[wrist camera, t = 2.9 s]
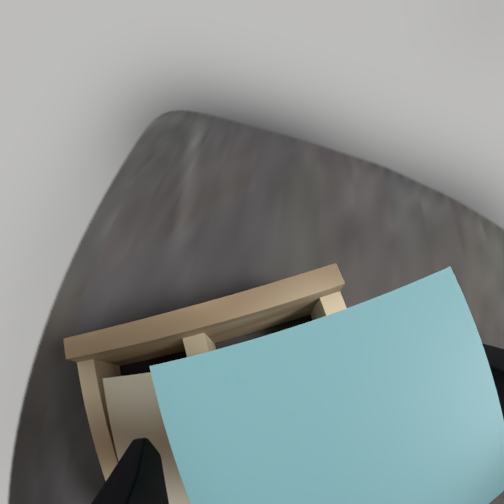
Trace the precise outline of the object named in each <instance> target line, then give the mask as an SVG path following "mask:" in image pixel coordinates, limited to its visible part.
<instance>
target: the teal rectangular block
mask: <svg viewBox="0 0 504 504" xmlns="http://www.w3.org/2000/svg"><path fill="white" fill-rule="evenodd" d="M149 367H150V372H151V376H152V380H153V384H154V388H155V392H156V396H157V400H158V404H159V408H160V412H161V415H162V419H163V422H164V426H165V429H166V433H167V436H168V439H169V443H170V446H171V449H172V452H173V455H174V458H175V461H176V464H177V467H178V470H179V473H180V476H181V479H182V482H183V485H184V487H185V490H186V493H187V495H188V498H189V501H190V503H191V504H489V503H490V502H491V501H492V500H494V499H495V498H496V497H497V496H498V495H499V494H501V493H502V492H503V491H504V419H503V415H502V410H501V406H500V402H499V398H498V394H497V390H496V387H495V383H494V379H493V376H492V373H491V369H490V366H489V363H488V360H487V356H486V353H485V350H484V347H483V345H482V342H481V339H480V336H479V333H478V331H477V328H476V325H475V323H474V320H473V317H472V315H471V312H470V310H469V307H468V305H467V303H466V300H465V298H464V295H463V293H462V291H461V289H460V286H459V284H458V282H457V280H456V277H455V275H454V273H453V271H452V269H451V267H448V268H446V269H443V270H441V271H439V272H437V273H434V274H432V275H430V276H427V277H425V278H423V279H420V280H418V281H416V282H413V283H411V284H409V285H406V286H404V287H401V288H399V289H396V290H394V291H391V292H389V293H386V294H384V295H381V296H379V297H376V298H373V299H371V300H368V301H366V302H363V303H360V304H358V305H355V306H352V307H349V308H347V309H344V310H341V311H338V312H336V313H333V314H330V315H327V316H324V317H321V318H318V319H315V320H312V321H309V322H307V323H303V324H300V325H297V326H294V327H291V328H288V329H285V330H282V331H279V332H275V333H272V334H269V335H266V336H262V337H259V338H256V339H252V340H249V341H245V342H242V343H239V344H235V345H231V346H228V347H224V348H221V349H217V350H213V351H209V352H206V353H202V354H198V355H194V356H190V357H186V358H182V359H178V360H174V361H169V362H165V363H161V364H156V365H152V366H149Z"/></svg>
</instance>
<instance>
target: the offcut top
mask: <svg viewBox="0 0 504 504" xmlns="http://www.w3.org/2000/svg"><path fill="white" fill-rule="evenodd" d="M103 385H104V391H105V398H106V404H107V409H108V415H109V420H110V425H111V430H112V435H113V439H114V444H115V448H116V453H117V457H118V461H119V460H120V459H121V457H122V456H123V454H124V453H125V451H126V449H127V448H128V446H129V445H130V443H131V442H132V440H134V439H137V438H144V437H145V438H148V439H149V440H150V442H151V443H152V444H153V445H154V447H155V448H156V449H157V450H158V452H159V453H160V456H161V459H162V466H163V472H164V478H165V483H166V489H167V494H168V501H169V504H191V503H190V501H189V498H188V495H187V493H186V490H185V487H184V485H183V482H182V479H181V476H180V473H179V470H178V467H177V464H176V461H175V458H174V455H173V452H172V449H171V446H170V443H169V439H168V436H167V433H166V429H165V426H164V422H163V419H162V415H161V412H160V408H159V404H158V400H157V396H156V392H155V388H154V384H153V380H152V376H151V372H148V373H141V374H134V375H126V376H118V377H110V378H103Z"/></svg>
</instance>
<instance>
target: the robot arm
mask: <svg viewBox="0 0 504 504" xmlns="http://www.w3.org/2000/svg"><path fill="white" fill-rule="evenodd" d="M482 345H483V347H484V350H485V353H486V356H487V360H488V363H489V366H490V369H491V373H492V376H493V379H494V383H495V387H496V390H497V394H498V398H499V402H500V406H501V410H502V415H503V419H504V349H501V348H497V347H493V346H490V345H486V344H482ZM92 504H169V501H168V494H167V489H166V483H165V478H164V472H163V466H162V459H161V456H160V453H159V452H158V450H157V449H156V448H155V447H154V445H153V444H152V443H151V442H150V440H149V439H148V438H145V437H144V438H137V439H134V440H132V442H131V443H130V445H129V446H128V448H127V449H126V451H125V453H124V454H123V456H122V457H121V459H120V460H119V462H118V463H117V465H116V466H115V468H114V470H113V471H112V473H111V474H110V476H109V477H108V479H107V480H106V482H105V483H104V485H103V487H102V488H101V490H100V491H99V493H98V494H97V496H96V497H95V499H94V501H93V502H92Z"/></svg>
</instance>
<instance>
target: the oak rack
mask: <svg viewBox="0 0 504 504" xmlns="http://www.w3.org/2000/svg"><path fill="white" fill-rule="evenodd" d="M344 284H345V283H344V280H343V278H342V275H341V273H340V271H339V268H338V266H337V264H336V263H335V264H332V265H328V266H325V267H322V268H319V269H316V270H312V271H309V272H306V273H303V274H299V275H296V276H293V277H290V278H286V279H283V280H280V281H276V282H273V283H270V284H266V285H263V286H260V287H256V288H253V289H249V290H246V291H243V292H239V293H236V294H232V295H229V296H225V297H222V298H218V299H215V300H211V301H207V302H204V303H200V304H197V305H193V306H189V307H186V308H182V309H178V310H175V311H171V312H167V313H163V314H160V315H156V316H152V317H148V318H144V319H141V320H137V321H133V322H129V323H125V324H121V325H117V326H113V327H109V328H105V329H101V330H97V331H93V332H89V333H84V334H80V335H76V336H72V337H68V338H63V341H64V349H65V357H66V359H67V360H70V361H74V362H77V366H78V372H79V378H80V384H81V389H82V395H83V400H84V404H85V409H86V414H87V418H88V422H89V426H90V430H91V434H92V438H93V442H94V445H95V449H96V452H97V456H98V459H99V462H100V466H101V469H102V472H103V475H104V478H105V481H106V480H107V479H108V477H109V476H110V474H111V473H112V471H113V470H114V468H115V466H116V465H117V463H118V462H119V461H118V457H117V453H116V448H115V444H114V439H113V435H112V430H111V425H110V420H109V415H108V409H107V404H106V398H105V391H104V385H103V378H110V377H118V376H121V371H120V366H122V365H127V364H132V363H136V362H141V361H146V360H150V359H154V358H159V357H163V356H167V355H171V354H175V353H179V352H183V351H186V355H187V357H190V356H194V355H198V354H202V353H206V352H209V351H213V350H216V347H215V344H214V343H218V342H222V341H225V340H229V339H232V338H236V337H239V336H243V335H246V334H250V333H253V332H256V331H260V330H263V329H266V328H270V327H273V326H276V325H279V324H283V323H286V322H289V321H292V320H295V319H298V318H301V317H304V316H307V315H311V318H312V320H315V319H318V318H321V317H324V316H327V315H330V314H333V313H336V312H338V311H341V310H344V309H347V308H346V305H345V303H344V300H343V298H342V295H341V293H340V290H341V289H342V287H343V286H344Z"/></svg>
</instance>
